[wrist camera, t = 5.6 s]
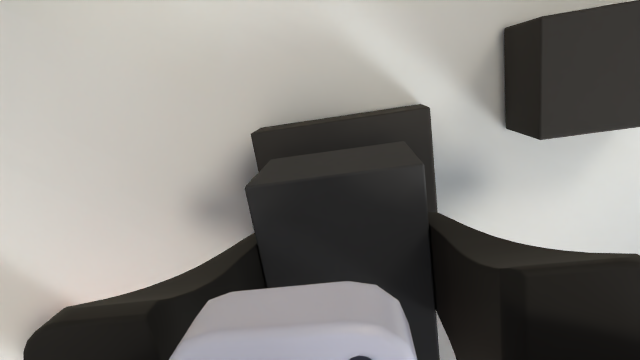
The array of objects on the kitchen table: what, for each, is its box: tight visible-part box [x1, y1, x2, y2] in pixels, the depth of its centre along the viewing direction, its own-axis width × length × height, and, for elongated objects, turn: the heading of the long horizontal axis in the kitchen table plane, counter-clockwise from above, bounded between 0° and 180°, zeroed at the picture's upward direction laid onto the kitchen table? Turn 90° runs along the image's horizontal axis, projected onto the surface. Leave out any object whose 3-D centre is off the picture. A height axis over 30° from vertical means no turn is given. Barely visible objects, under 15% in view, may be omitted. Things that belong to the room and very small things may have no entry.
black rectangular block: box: [245, 141, 440, 360], centre depth 12 cm, size 6×5×4 cm
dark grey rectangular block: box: [504, 0, 640, 140], centre depth 14 cm, size 4×6×3 cm
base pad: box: [251, 104, 437, 212], centre depth 18 cm, size 8×8×2 cm
